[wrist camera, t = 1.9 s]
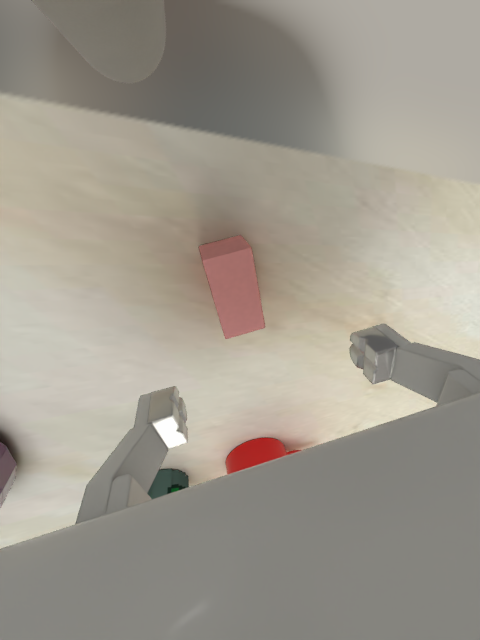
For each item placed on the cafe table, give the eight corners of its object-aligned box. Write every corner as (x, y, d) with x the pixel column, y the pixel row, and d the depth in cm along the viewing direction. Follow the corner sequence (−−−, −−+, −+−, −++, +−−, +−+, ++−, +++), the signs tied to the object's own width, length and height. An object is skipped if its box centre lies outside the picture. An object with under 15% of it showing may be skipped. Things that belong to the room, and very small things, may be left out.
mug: (313, 455, 36) (344, 521, 29) (230, 480, 34) (243, 555, 28) (315, 422, 31) (352, 490, 25) (220, 448, 30) (232, 528, 23)
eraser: (198, 245, 17) (202, 260, 15) (240, 234, 17) (251, 246, 15) (219, 318, 20) (225, 339, 18) (254, 307, 21) (265, 327, 18)
